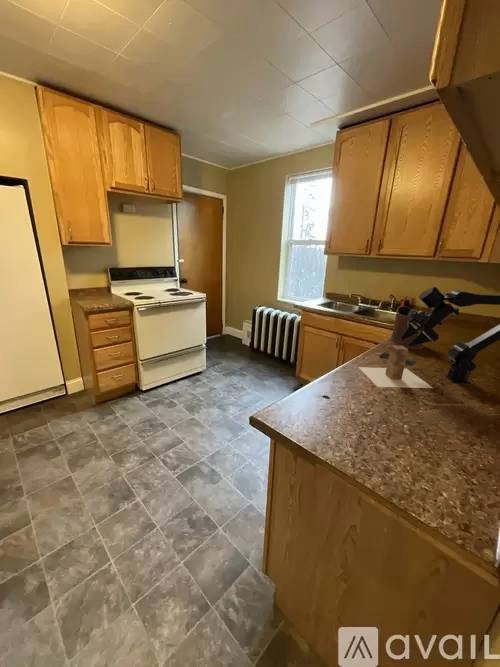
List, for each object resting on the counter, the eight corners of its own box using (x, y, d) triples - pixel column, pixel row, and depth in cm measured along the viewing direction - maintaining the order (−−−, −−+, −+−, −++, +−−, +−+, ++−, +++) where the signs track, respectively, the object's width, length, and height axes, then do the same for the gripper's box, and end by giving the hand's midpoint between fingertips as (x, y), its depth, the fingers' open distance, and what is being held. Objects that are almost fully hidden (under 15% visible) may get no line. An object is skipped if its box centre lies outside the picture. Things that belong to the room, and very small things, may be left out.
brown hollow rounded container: (405, 337, 174) (413, 297, 166) (441, 351, 152) (453, 305, 145) (381, 339, 168) (389, 297, 160) (415, 353, 146) (426, 306, 139)
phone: (385, 352, 144) (416, 361, 133) (384, 354, 144) (416, 363, 134) (378, 355, 139) (411, 365, 128) (377, 358, 139) (410, 368, 128)
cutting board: (406, 369, 125) (406, 368, 125) (432, 389, 108) (433, 387, 108) (358, 368, 124) (358, 367, 124) (377, 388, 107) (377, 386, 107)
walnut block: (395, 374, 118) (401, 345, 115) (401, 379, 114) (408, 349, 110) (385, 374, 118) (391, 345, 114) (390, 379, 114) (397, 349, 110)
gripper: (414, 298, 121) (384, 323, 126) (433, 306, 103) (398, 335, 108) (432, 315, 121) (402, 340, 126) (454, 327, 104) (418, 355, 109)
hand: (404, 342), depth 117 cm, fingers open, 9 cm apart
